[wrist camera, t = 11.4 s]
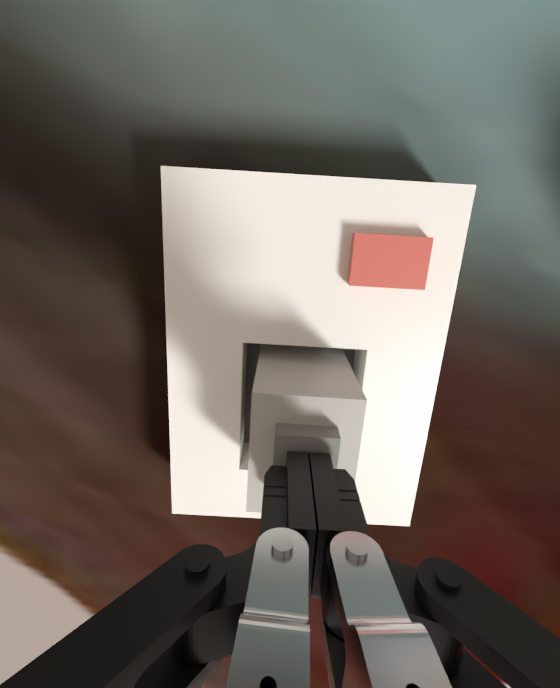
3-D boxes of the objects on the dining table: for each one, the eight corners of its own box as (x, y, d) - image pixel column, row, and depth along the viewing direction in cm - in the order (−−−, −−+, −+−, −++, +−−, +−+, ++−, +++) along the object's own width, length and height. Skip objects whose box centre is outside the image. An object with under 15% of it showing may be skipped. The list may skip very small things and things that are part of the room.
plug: (261, 342, 19) (249, 403, 12) (341, 347, 19) (372, 410, 12) (256, 431, 20) (244, 527, 14) (330, 435, 20) (353, 534, 14)
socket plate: (181, 176, 17) (155, 163, 14) (444, 192, 17) (484, 183, 14) (186, 475, 22) (168, 522, 18) (392, 487, 22) (413, 535, 18)
